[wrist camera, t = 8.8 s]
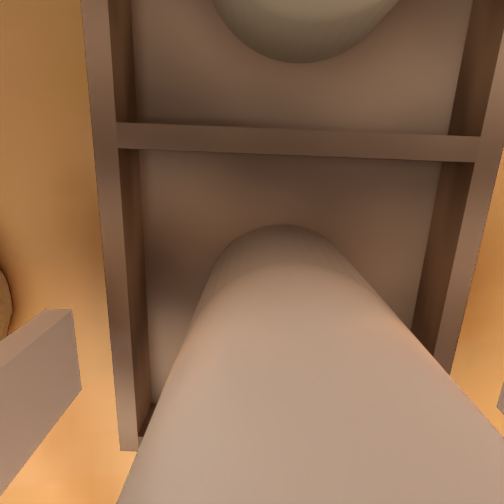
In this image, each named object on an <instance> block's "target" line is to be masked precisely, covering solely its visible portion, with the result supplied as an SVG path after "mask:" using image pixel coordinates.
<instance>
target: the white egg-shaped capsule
mask: <svg viewBox="0 0 504 504" xmlns="http://www.w3.org/2000/svg"><path fill="white" fill-rule="evenodd" d="M398 1H399V0H212V3H213V5H214V7H215V8H216V10H217V12H218V14H219V16H220V17H221V19H222V20H223V21H224V23H225V24H226V26H227V27H228V28H229V29H230V30H231V32H232V33H233V34H234V35H235V36H236V37H237V38H238V39H239V40H240V41H242V42H243V43H244V44H245V45H247V46H248V47H249V48H251V49H253V50H254V51H256V52H257V53H259V54H261V55H263V56H266V57H268V58H271V59H274V60H277V61H281V62H286V63H295V64H301V63H313V62H319V61H323V60H326V59H329V58H332V57H335V56H337V55H339V54H341V53H343V52H345V51H347V50H348V49H350V48H352V47H353V46H355V45H356V44H358V43H359V42H360V41H361V40H362V39H363V38H365V37H366V36H367V35H368V34H369V33H370V32H371V31H372V30H373V29H374V28H375V27H376V25H377V24H378V23H379V22H380V21H381V20H382V19H383V18H384V17H385V15H386V14H387V13H388V12H389V11H390V10H391V9H392V8H393V7H394V5H395V4H396V3H397V2H398Z"/></svg>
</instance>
